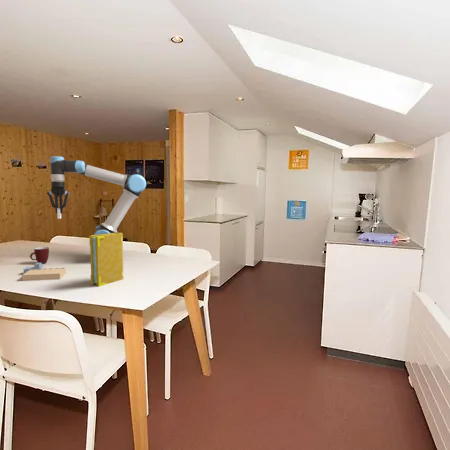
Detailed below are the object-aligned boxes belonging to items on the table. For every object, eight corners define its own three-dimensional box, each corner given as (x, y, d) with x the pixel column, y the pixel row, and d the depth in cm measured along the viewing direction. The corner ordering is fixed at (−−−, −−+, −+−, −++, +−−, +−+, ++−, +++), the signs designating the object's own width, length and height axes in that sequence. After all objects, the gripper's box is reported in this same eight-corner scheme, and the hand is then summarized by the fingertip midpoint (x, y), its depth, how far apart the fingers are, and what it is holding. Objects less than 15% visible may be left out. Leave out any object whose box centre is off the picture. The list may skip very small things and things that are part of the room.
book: (99, 286, 153) (97, 236, 151) (90, 284, 157) (89, 235, 154) (126, 278, 168) (125, 233, 165) (118, 276, 171) (117, 232, 168)
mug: (31, 265, 192) (30, 250, 191) (29, 263, 198) (28, 248, 197) (50, 263, 199) (50, 248, 197) (48, 261, 205) (47, 246, 204)
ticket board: (65, 273, 176) (65, 267, 176) (59, 279, 165) (59, 273, 164) (30, 274, 172) (30, 269, 172) (22, 280, 160) (21, 274, 160)
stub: (42, 271, 179) (42, 262, 178) (39, 273, 173) (39, 264, 173) (27, 272, 177) (26, 262, 176) (23, 274, 171) (23, 265, 171)
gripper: (70, 181, 199) (72, 217, 201) (48, 181, 196) (50, 218, 198) (67, 181, 192) (69, 219, 194) (44, 180, 188) (46, 219, 191)
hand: (59, 218), depth 196 cm, fingers closed
